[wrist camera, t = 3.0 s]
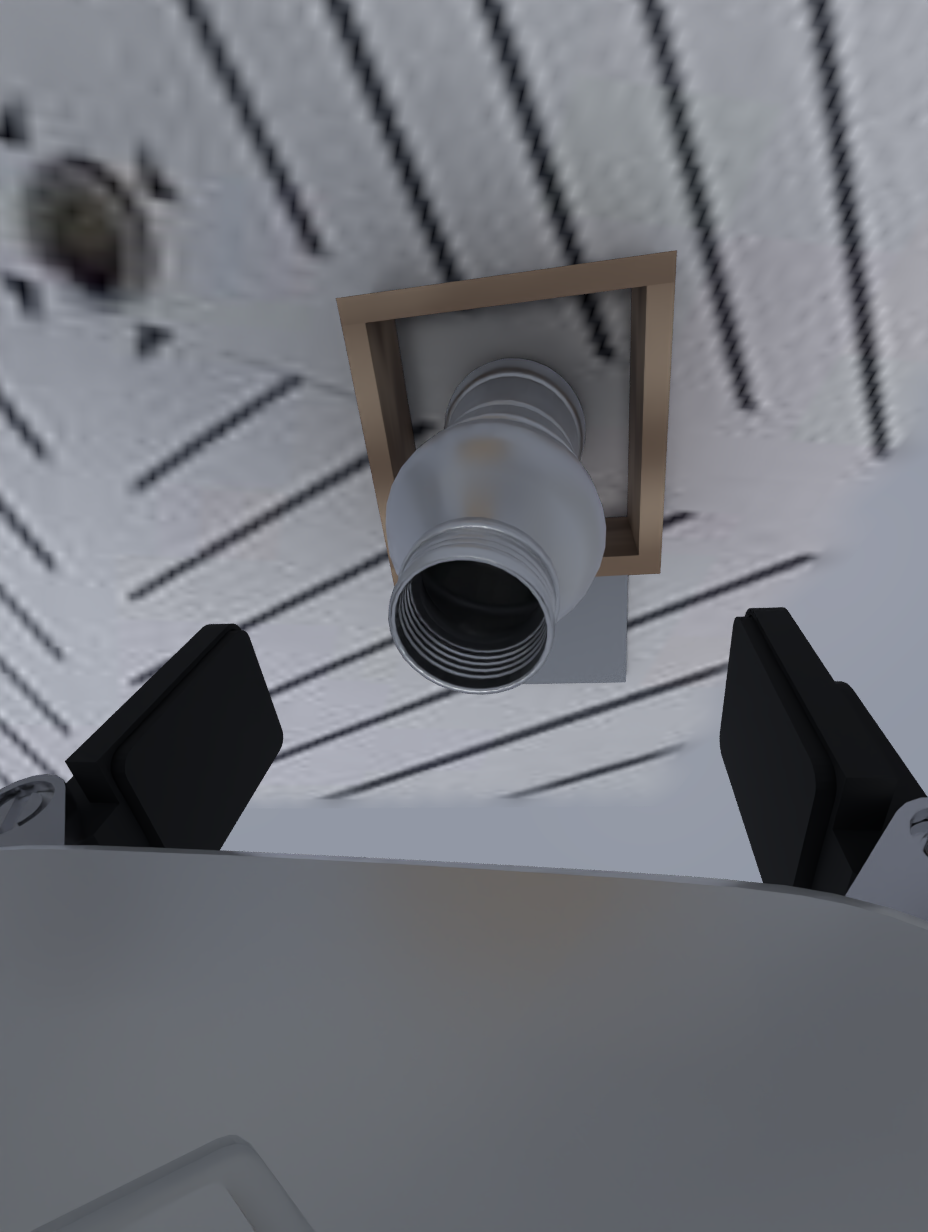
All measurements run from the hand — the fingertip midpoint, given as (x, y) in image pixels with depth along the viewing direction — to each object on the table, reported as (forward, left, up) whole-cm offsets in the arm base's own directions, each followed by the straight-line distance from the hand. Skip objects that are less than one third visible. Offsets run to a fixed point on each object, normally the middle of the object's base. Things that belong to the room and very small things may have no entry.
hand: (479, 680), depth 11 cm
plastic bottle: (0, 0, -22) cm, 22 cm away
